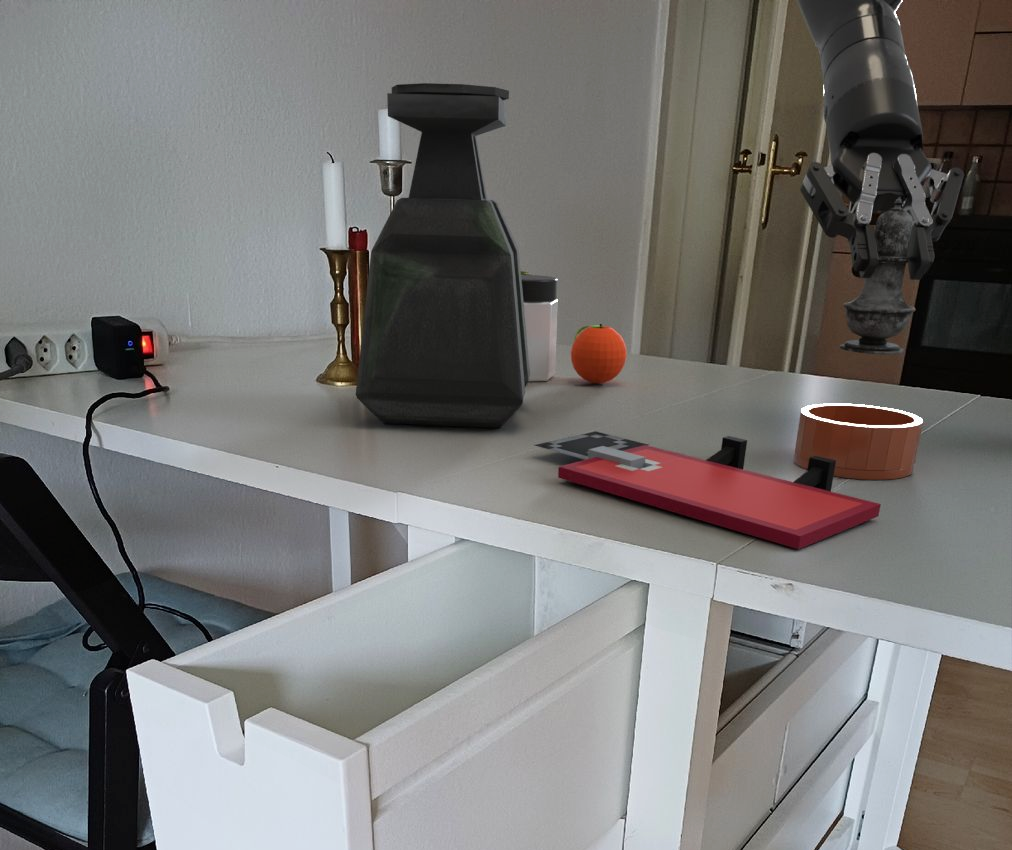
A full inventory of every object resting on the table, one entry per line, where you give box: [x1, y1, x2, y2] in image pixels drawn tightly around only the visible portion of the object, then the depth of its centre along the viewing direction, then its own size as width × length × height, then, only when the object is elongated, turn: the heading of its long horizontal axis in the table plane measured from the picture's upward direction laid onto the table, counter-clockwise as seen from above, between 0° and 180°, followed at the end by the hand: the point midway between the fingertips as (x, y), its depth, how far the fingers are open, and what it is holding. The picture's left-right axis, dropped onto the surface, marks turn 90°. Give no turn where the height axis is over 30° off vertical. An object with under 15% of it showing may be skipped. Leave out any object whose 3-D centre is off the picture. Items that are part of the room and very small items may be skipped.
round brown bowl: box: [793, 403, 924, 481], centre depth 91 cm, size 10×10×4 cm
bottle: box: [355, 82, 530, 429], centre depth 101 cm, size 18×16×30 cm
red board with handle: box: [533, 431, 881, 550], centre depth 83 cm, size 30×3×15 cm
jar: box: [521, 274, 559, 383], centre depth 128 cm, size 9×8×12 cm
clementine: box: [570, 323, 628, 384], centre depth 127 cm, size 8×7×7 cm
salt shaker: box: [839, 197, 917, 356], centre depth 85 cm, size 6×6×12 cm
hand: (895, 271), depth 83 cm, fingers closed on salt shaker, 3 cm apart
